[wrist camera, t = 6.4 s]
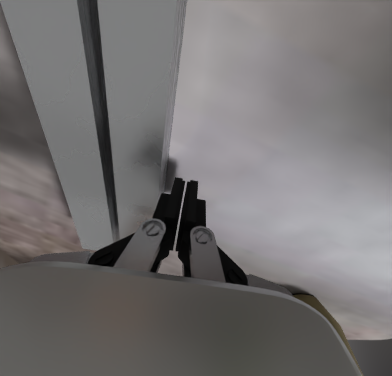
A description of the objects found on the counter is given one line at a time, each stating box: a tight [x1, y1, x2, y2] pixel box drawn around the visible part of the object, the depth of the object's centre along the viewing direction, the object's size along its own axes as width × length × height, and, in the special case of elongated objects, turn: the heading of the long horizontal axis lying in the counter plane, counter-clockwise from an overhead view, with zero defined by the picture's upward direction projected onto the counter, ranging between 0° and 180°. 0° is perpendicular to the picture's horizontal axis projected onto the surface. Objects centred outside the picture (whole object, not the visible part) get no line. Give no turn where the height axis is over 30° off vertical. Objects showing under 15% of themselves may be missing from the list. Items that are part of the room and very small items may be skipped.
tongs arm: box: [97, 0, 187, 240], centre depth 10 cm, size 20×3×3 cm, turn 168°
